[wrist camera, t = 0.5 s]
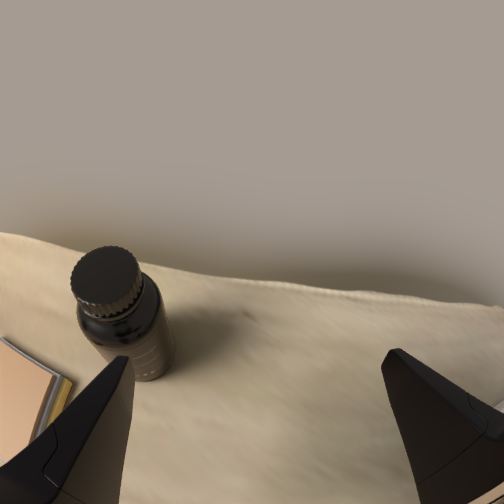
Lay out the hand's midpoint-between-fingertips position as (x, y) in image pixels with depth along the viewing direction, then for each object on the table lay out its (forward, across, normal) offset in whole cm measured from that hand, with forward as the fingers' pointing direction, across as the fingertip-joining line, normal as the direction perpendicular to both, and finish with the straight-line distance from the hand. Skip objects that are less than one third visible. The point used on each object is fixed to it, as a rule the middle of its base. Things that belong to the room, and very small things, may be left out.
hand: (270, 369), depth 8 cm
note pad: (+4, +23, +16) cm, 28 cm away
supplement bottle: (+13, +9, +13) cm, 20 cm away
